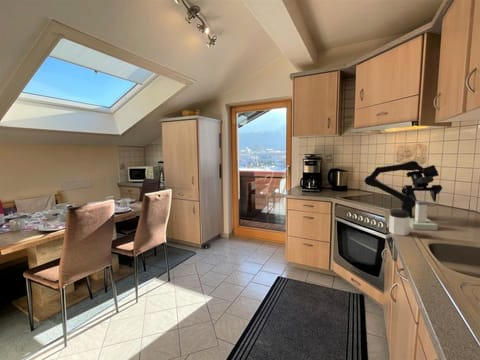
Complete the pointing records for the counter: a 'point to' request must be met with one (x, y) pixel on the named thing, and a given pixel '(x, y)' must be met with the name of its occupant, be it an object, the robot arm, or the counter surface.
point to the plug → (421, 211)
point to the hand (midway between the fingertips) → (425, 201)
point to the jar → (399, 222)
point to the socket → (422, 225)
